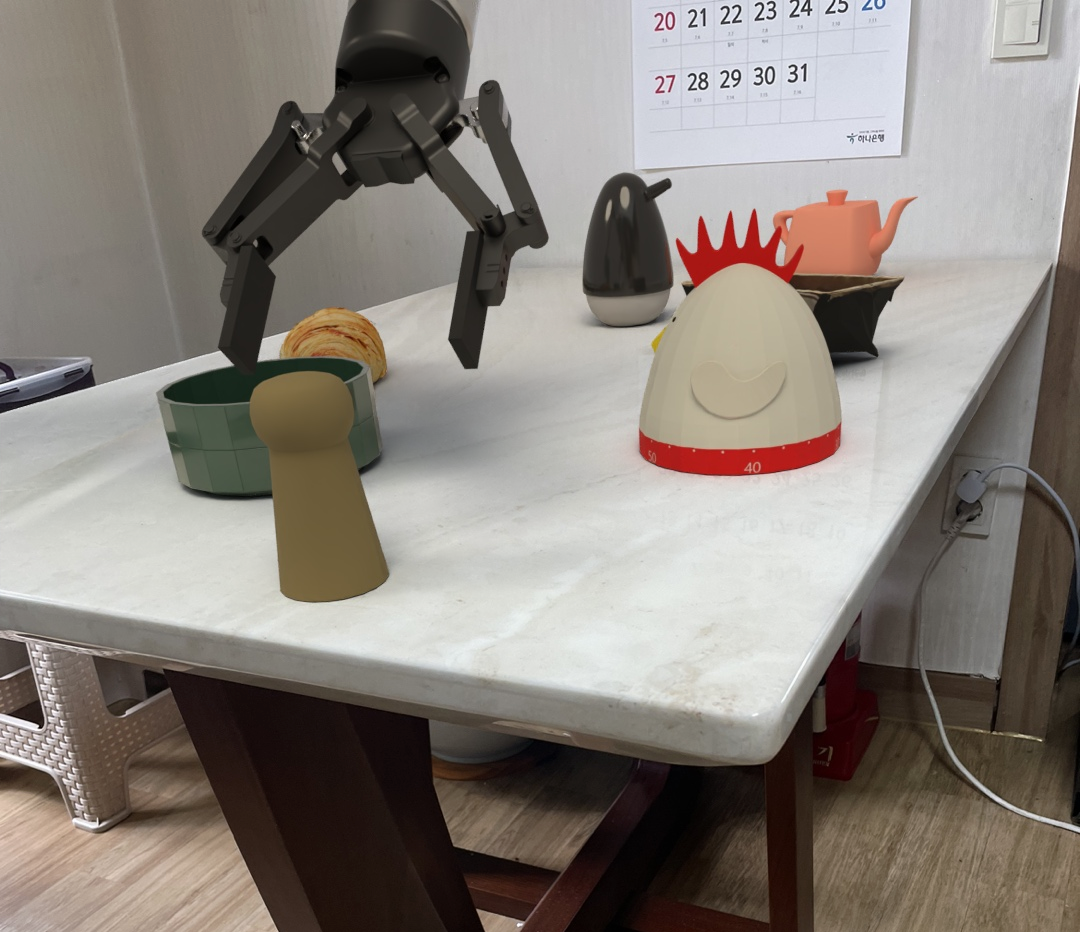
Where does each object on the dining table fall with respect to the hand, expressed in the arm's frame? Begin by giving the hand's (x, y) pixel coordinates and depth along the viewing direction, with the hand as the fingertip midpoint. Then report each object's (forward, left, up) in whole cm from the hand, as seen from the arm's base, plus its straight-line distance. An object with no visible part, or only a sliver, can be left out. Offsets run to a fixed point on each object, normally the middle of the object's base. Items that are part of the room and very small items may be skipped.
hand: (345, 358), depth 57 cm
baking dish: (+20, +47, -11) cm, 52 cm away
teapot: (+23, +93, -11) cm, 96 cm away
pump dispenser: (+1, +70, -11) cm, 70 cm away
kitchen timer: (+19, +21, -11) cm, 30 cm away
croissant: (-23, +43, -11) cm, 50 cm away
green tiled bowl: (-14, +15, -11) cm, 23 cm away
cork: (0, -5, -11) cm, 12 cm away
